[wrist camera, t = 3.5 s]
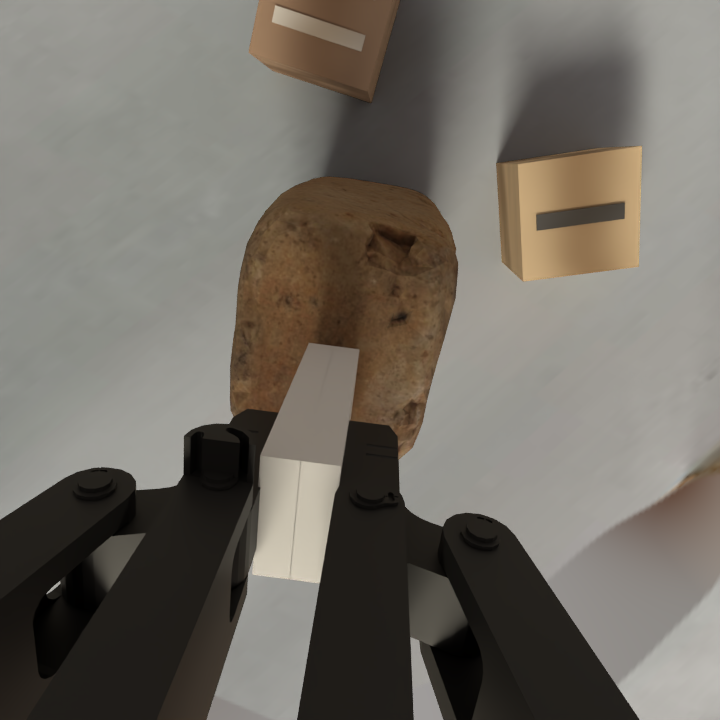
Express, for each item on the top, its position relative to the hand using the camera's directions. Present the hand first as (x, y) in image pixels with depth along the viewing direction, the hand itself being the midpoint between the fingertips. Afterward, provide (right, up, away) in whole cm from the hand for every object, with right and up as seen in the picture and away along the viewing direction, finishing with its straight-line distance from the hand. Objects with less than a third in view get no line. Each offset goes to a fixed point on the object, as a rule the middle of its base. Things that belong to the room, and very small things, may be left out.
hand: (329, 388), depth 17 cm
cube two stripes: (0, +19, +15) cm, 24 cm away
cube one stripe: (+13, +10, +17) cm, 24 cm away
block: (+1, +7, +19) cm, 21 cm away
